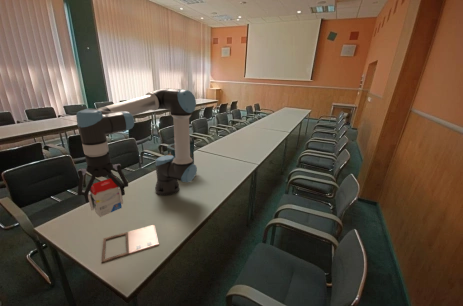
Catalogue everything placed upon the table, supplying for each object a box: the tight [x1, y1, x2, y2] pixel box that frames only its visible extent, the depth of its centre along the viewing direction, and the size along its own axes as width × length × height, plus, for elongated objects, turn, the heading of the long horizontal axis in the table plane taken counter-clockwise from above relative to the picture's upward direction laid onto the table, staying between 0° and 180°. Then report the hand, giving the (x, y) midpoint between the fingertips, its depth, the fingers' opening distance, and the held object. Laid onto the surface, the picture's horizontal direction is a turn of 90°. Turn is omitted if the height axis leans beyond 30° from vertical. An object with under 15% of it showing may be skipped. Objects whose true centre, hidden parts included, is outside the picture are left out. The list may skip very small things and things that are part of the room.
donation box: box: [166, 135, 195, 164], centre depth 159 cm, size 16×16×28 cm
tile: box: [127, 224, 160, 255], centre depth 95 cm, size 12×14×1 cm
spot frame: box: [101, 231, 130, 264], centre depth 90 cm, size 10×14×1 cm
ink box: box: [89, 176, 123, 218], centre depth 81 cm, size 8×5×15 cm, turn 141°
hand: (107, 205), depth 83 cm, fingers closed on ink box, 9 cm apart
